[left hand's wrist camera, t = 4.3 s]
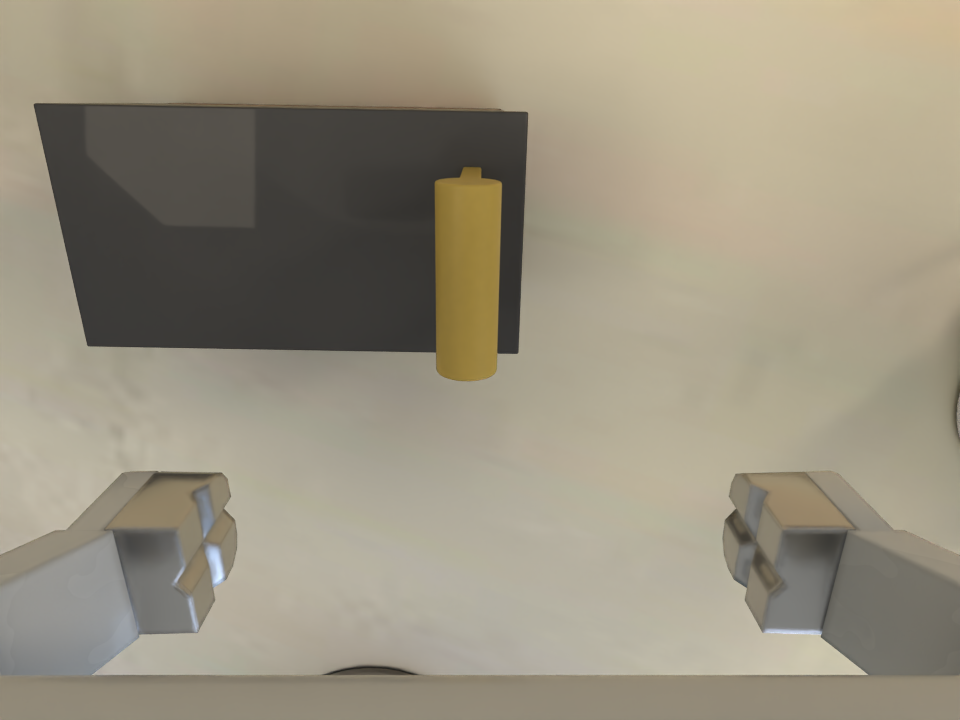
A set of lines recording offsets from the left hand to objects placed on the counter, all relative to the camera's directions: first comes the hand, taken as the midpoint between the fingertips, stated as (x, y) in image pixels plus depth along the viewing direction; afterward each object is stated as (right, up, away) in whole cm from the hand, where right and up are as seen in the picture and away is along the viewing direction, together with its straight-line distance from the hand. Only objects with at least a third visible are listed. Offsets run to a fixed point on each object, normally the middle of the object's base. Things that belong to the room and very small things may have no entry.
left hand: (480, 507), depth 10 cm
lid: (-7, +8, +16) cm, 19 cm away
